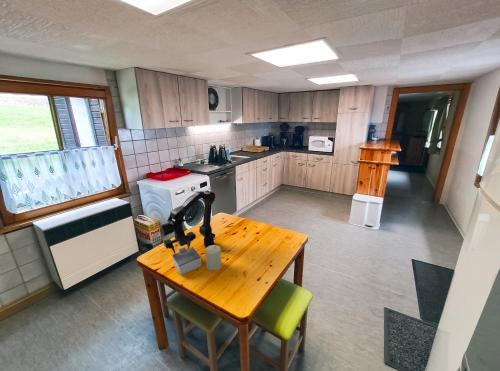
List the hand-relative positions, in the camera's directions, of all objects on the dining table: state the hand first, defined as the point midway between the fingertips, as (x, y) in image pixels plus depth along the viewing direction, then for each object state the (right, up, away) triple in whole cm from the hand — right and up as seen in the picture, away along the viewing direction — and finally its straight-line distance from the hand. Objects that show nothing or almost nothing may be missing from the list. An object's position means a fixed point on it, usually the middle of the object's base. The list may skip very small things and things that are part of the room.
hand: (181, 251), depth 138 cm
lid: (+4, -1, -5) cm, 6 cm away
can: (+21, -7, -6) cm, 23 cm away
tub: (+5, -7, -5) cm, 10 cm away
